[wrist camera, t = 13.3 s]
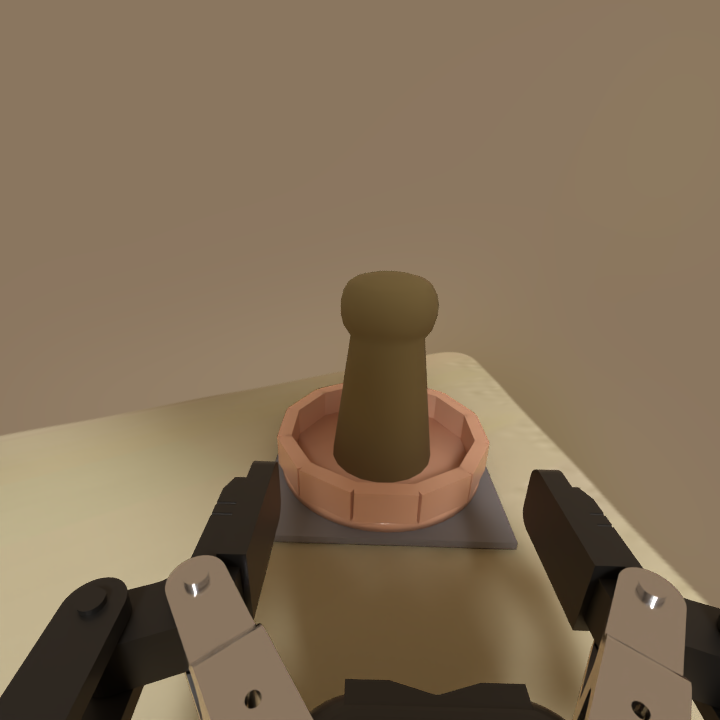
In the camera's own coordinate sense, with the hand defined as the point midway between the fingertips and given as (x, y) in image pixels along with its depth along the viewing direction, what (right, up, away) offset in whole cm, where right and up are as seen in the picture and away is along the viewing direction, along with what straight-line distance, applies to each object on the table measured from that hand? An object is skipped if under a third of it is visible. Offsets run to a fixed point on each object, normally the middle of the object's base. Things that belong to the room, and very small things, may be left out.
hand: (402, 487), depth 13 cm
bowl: (0, -2, +13) cm, 13 cm away
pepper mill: (0, -2, +13) cm, 13 cm away
